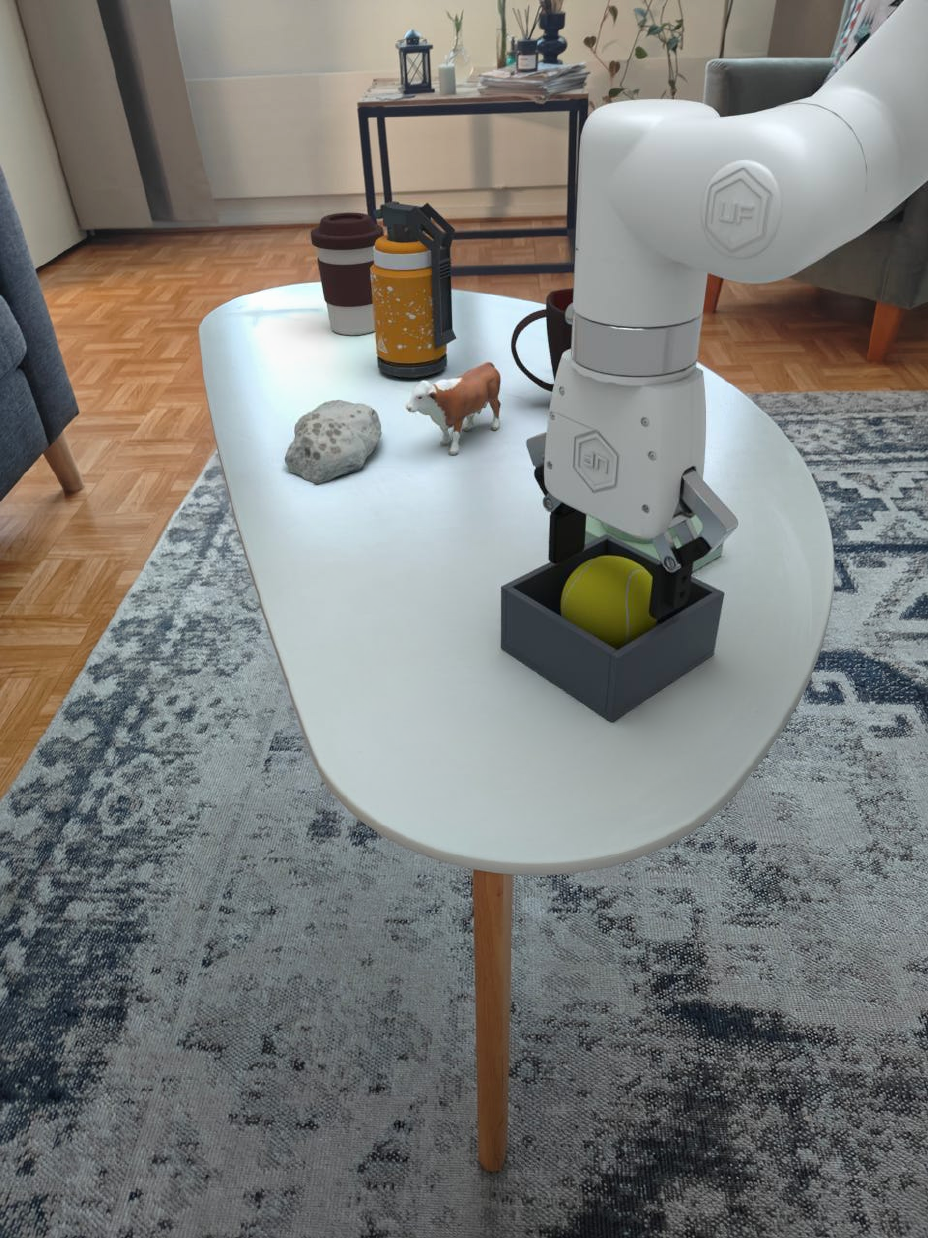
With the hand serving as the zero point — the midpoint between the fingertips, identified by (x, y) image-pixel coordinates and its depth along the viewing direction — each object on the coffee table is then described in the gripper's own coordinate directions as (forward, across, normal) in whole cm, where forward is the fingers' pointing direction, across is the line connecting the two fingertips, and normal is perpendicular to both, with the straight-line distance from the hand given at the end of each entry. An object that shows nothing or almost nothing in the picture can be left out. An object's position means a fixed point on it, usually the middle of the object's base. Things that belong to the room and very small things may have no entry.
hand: (614, 581), depth 64 cm
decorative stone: (+6, -42, +4) cm, 43 cm away
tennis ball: (+6, 0, 0) cm, 6 cm away
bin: (+6, 0, 0) cm, 6 cm away
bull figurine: (+6, -36, +16) cm, 40 cm away
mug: (+6, -35, +32) cm, 48 cm away
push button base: (+6, -8, +13) cm, 17 cm away
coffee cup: (+6, -76, +30) cm, 82 cm away
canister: (+6, -56, +26) cm, 62 cm away
